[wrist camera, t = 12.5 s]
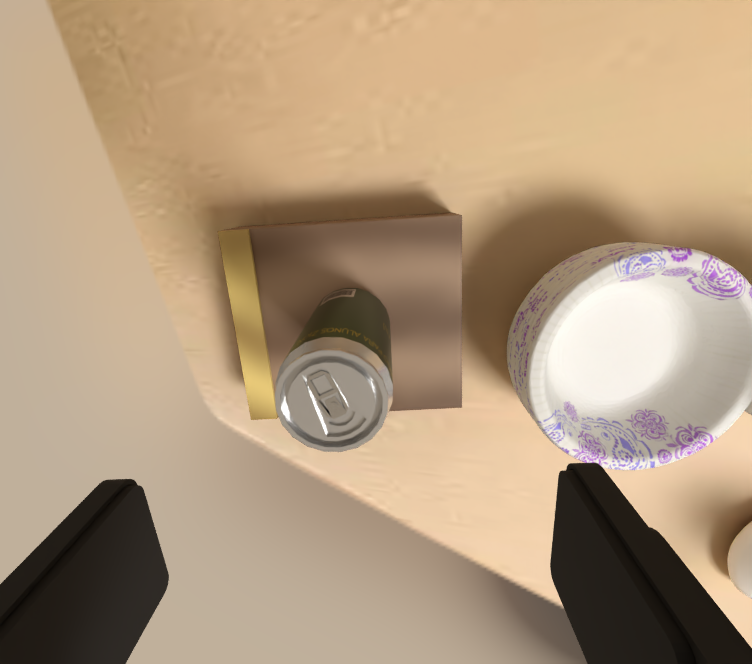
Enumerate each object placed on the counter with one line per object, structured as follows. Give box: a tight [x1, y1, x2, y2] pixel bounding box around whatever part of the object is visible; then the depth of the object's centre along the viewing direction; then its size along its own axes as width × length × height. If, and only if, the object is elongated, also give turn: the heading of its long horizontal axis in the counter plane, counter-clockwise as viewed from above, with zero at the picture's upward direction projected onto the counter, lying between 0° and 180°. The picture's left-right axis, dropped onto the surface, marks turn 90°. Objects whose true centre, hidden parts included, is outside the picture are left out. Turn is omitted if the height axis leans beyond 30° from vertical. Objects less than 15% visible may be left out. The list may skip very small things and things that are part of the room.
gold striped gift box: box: [218, 213, 462, 420], centre depth 31 cm, size 14×16×4 cm
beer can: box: [275, 288, 393, 452], centre depth 24 cm, size 5×5×12 cm
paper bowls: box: [507, 242, 752, 470], centre depth 30 cm, size 15×15×8 cm
